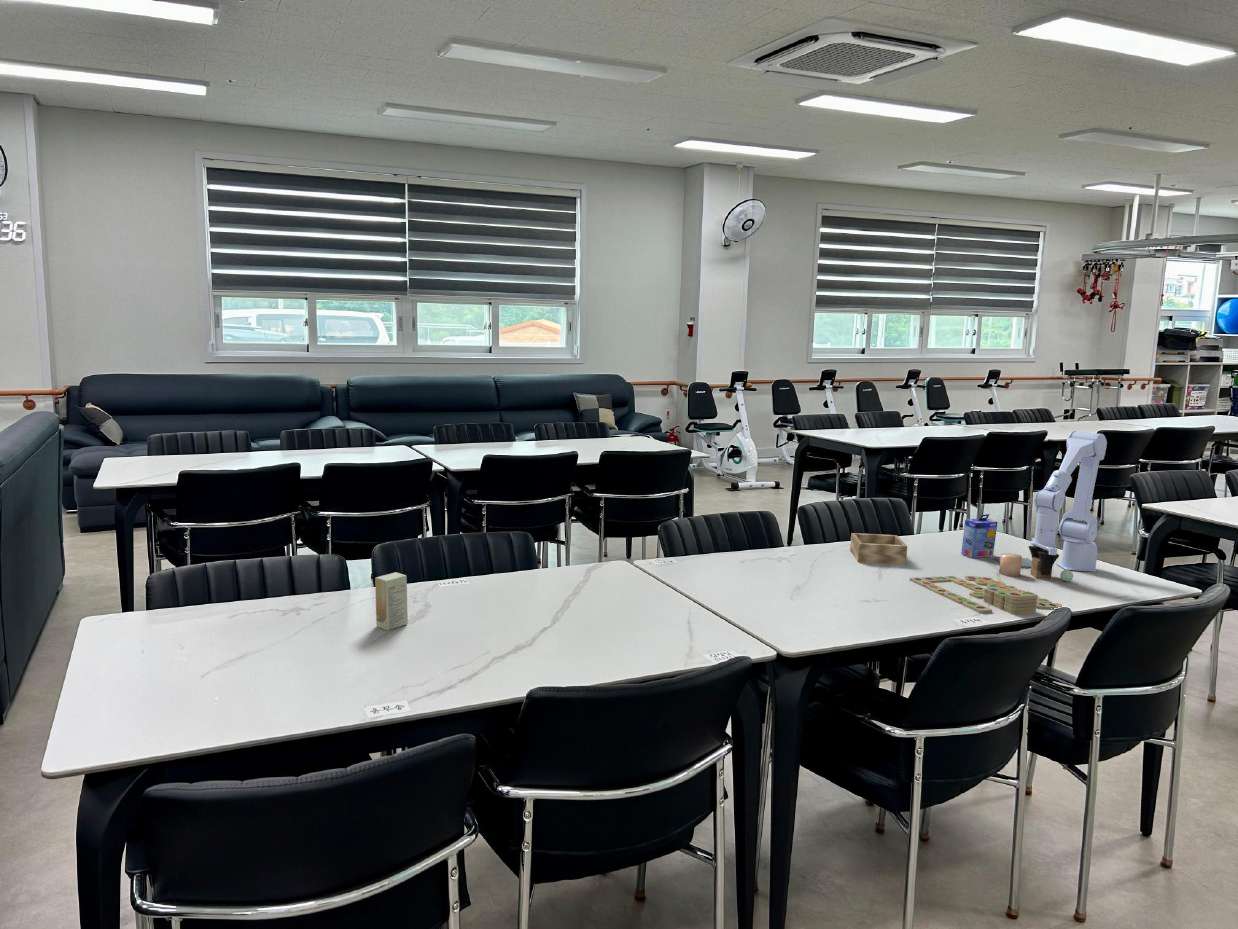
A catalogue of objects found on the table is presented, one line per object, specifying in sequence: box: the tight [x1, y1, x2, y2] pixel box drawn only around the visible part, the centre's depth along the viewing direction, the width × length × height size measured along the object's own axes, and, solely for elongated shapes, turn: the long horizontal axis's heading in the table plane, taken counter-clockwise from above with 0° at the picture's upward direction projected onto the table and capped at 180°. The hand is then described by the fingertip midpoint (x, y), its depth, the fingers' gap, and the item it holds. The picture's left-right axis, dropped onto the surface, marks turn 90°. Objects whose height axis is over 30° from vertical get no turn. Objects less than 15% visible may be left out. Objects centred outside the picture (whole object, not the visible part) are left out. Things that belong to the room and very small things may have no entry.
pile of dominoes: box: [908, 575, 1064, 615], centre depth 251 cm, size 35×27×6 cm
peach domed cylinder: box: [998, 552, 1023, 578], centre depth 273 cm, size 6×6×6 cm
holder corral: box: [849, 532, 908, 566], centre depth 288 cm, size 15×15×6 cm
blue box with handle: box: [960, 513, 998, 559], centre depth 294 cm, size 10×6×14 cm, turn 114°
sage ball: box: [1059, 569, 1074, 583], centre depth 267 cm, size 4×4×4 cm
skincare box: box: [374, 572, 409, 631], centre depth 208 cm, size 6×4×12 cm
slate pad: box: [993, 555, 1032, 569], centre depth 287 cm, size 11×11×1 cm
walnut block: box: [1030, 556, 1054, 580], centre depth 271 cm, size 4×4×6 cm
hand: (1041, 572), depth 271 cm, fingers open, 6 cm apart
